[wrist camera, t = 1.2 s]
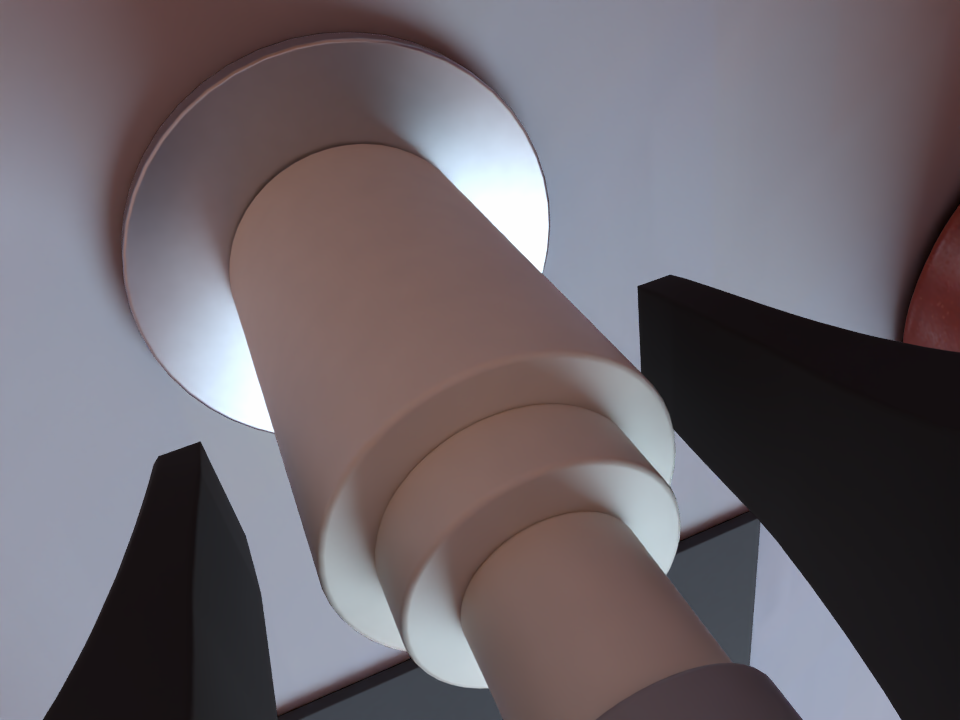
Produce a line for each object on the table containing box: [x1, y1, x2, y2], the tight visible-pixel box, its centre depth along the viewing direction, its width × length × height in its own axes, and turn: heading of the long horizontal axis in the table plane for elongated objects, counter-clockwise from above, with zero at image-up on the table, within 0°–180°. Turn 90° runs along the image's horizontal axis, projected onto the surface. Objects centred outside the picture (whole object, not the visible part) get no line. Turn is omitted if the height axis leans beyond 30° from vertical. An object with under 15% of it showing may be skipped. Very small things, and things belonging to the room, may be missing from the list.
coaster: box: [121, 32, 550, 434], centre depth 17 cm, size 9×9×1 cm
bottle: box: [229, 144, 803, 720], centre depth 12 cm, size 5×5×13 cm
